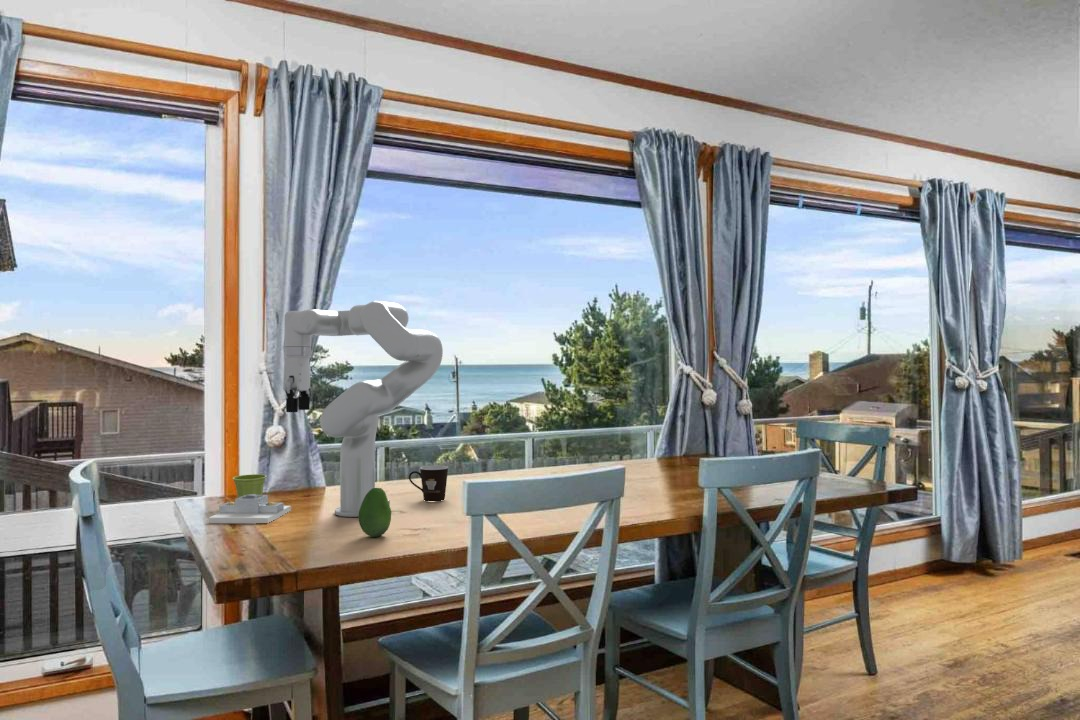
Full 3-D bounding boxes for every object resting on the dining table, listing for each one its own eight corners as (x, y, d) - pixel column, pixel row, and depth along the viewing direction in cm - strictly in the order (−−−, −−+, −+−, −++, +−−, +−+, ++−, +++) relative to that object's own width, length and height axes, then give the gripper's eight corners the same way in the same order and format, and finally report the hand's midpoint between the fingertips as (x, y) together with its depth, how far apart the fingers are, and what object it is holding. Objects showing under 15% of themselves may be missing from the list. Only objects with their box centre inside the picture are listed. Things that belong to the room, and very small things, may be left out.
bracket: (217, 513, 199) (217, 499, 199) (228, 508, 206) (228, 494, 206) (275, 514, 199) (275, 499, 199) (284, 509, 205) (284, 494, 205)
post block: (290, 510, 210) (290, 490, 210) (268, 523, 194) (268, 500, 194) (235, 510, 210) (235, 489, 210) (208, 523, 194) (208, 500, 194)
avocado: (396, 533, 183) (396, 485, 183) (382, 541, 175) (382, 491, 175) (367, 531, 184) (367, 484, 184) (352, 539, 177) (352, 489, 177)
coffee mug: (453, 499, 227) (453, 467, 227) (435, 503, 220) (435, 470, 220) (425, 495, 233) (425, 464, 233) (406, 499, 226) (406, 467, 226)
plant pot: (244, 510, 211) (243, 480, 211) (226, 506, 217) (226, 477, 217) (273, 505, 218) (273, 476, 218) (255, 501, 224) (255, 473, 224)
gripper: (296, 353, 225) (296, 408, 225) (273, 352, 207) (273, 413, 207) (320, 353, 224) (320, 408, 224) (299, 352, 207) (300, 413, 207)
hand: (298, 410), depth 216 cm, fingers open, 9 cm apart
